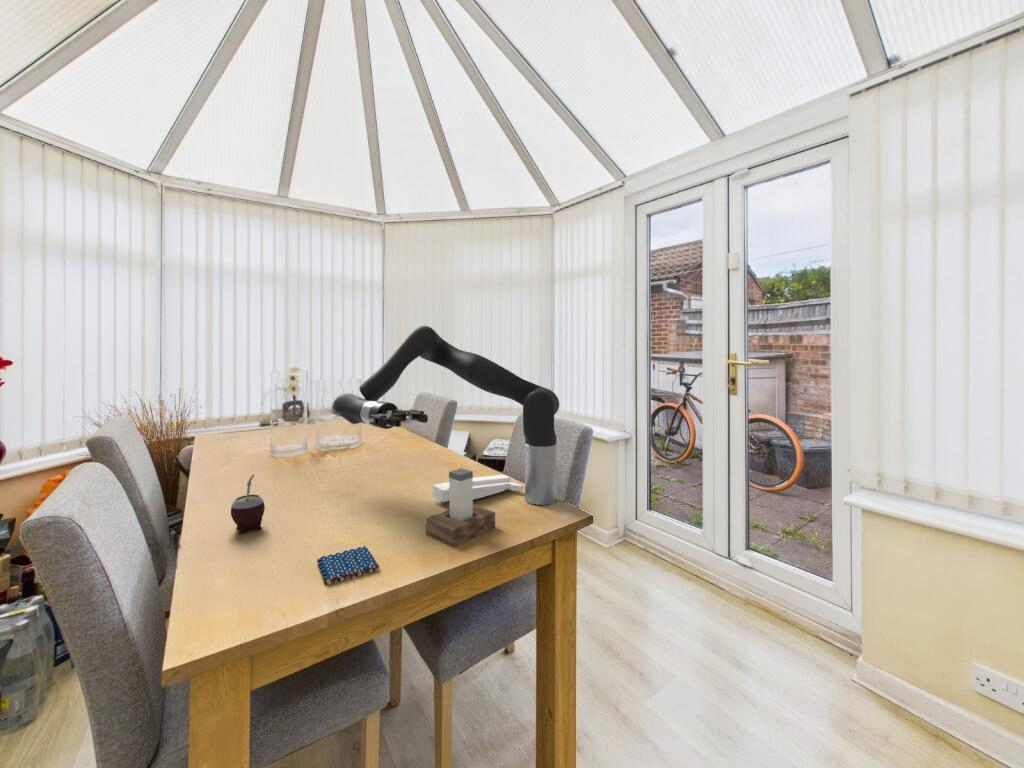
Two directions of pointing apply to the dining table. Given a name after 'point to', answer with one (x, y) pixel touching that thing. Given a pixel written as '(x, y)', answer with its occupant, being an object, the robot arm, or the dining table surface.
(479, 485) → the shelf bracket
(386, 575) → the dining table surface
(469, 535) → the brown square socket block
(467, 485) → the grey-capped white post
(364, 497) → the dining table surface
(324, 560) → the woven mat
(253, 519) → the mate gourd
